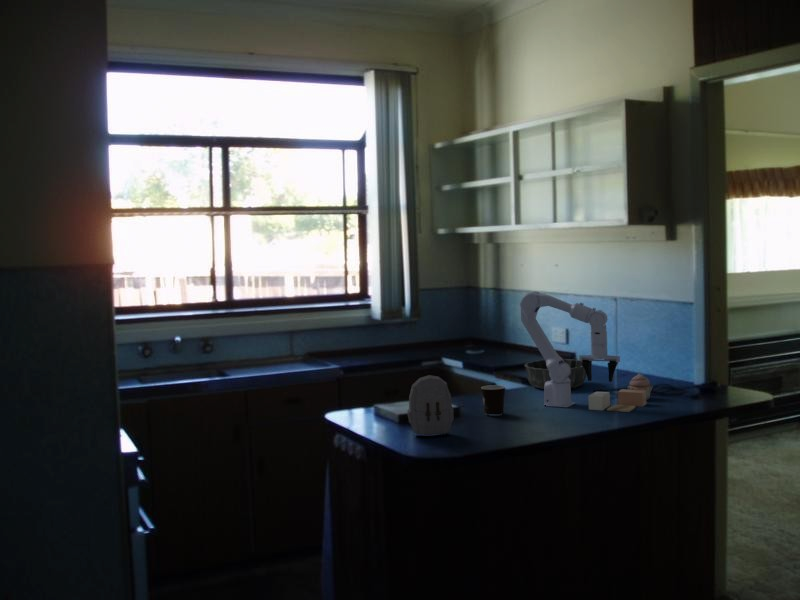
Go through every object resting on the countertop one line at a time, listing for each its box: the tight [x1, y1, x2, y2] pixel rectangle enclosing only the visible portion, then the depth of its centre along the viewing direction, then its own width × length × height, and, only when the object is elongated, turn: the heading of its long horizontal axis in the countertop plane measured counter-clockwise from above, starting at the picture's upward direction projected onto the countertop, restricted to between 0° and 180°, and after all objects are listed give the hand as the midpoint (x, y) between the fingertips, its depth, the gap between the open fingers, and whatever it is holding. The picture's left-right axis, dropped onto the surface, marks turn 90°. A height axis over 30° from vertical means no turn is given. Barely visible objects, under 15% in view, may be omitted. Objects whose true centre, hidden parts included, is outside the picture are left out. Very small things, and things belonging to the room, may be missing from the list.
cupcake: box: [627, 372, 654, 401], centre depth 303 cm, size 9×9×10 cm
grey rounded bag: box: [407, 374, 455, 435], centre depth 259 cm, size 15×8×20 cm, turn 98°
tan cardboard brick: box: [617, 388, 647, 407], centre depth 294 cm, size 9×5×5 cm, turn 59°
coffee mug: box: [480, 384, 506, 414], centre depth 289 cm, size 12×9×10 cm
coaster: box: [606, 404, 637, 413], centre depth 287 cm, size 8×8×1 cm
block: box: [587, 391, 611, 411], centre depth 291 cm, size 9×5×5 cm, turn 149°
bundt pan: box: [524, 358, 587, 390], centre depth 337 cm, size 26×26×10 cm
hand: (600, 380), depth 292 cm, fingers open, 7 cm apart
